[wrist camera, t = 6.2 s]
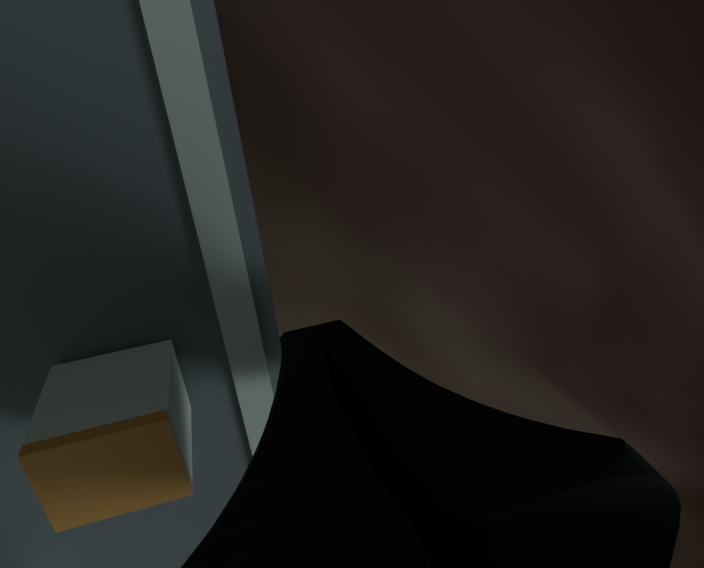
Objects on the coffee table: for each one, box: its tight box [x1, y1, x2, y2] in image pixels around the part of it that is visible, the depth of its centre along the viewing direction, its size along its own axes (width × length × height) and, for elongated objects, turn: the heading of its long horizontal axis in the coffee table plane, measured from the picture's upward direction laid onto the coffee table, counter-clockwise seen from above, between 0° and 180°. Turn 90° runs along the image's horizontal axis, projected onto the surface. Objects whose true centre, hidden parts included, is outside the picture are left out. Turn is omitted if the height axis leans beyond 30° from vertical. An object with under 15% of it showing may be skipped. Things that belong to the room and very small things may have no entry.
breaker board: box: [0, 0, 282, 568], centre depth 12 cm, size 16×12×2 cm
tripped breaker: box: [17, 339, 193, 533], centre depth 11 cm, size 2×2×3 cm
